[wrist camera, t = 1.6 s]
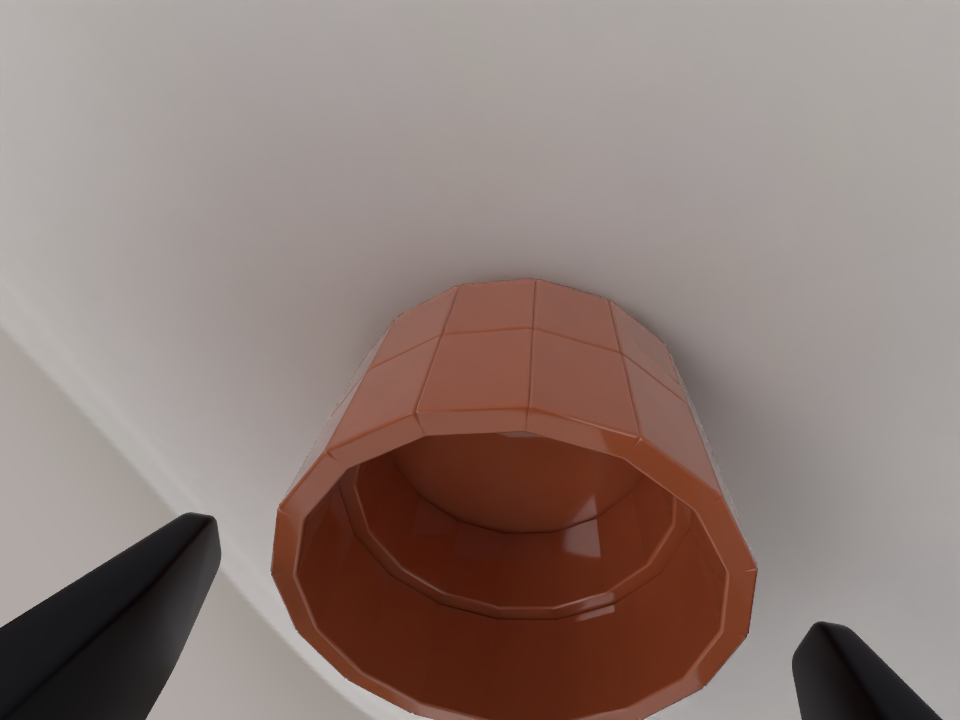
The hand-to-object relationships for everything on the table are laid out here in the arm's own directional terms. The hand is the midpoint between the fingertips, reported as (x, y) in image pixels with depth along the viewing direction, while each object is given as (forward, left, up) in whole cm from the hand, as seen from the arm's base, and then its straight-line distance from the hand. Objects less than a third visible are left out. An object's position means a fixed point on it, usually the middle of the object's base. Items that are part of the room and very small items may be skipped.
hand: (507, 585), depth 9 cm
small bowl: (0, 0, -4) cm, 4 cm away
